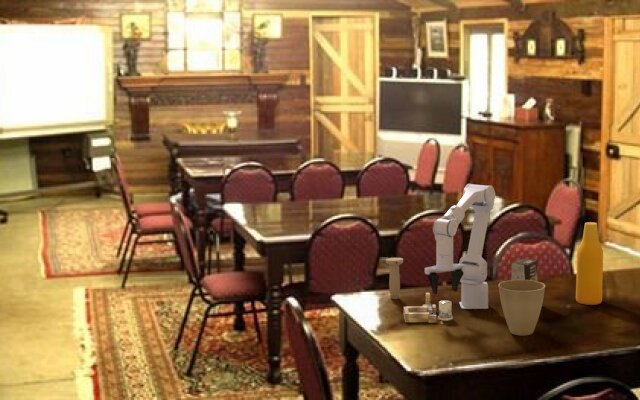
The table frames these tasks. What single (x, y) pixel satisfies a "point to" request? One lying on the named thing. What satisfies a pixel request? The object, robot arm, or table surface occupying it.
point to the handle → (394, 276)
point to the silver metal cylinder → (445, 310)
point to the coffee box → (524, 270)
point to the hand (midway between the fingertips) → (444, 292)
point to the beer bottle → (589, 267)
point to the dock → (419, 314)
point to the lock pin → (428, 303)
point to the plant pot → (521, 304)
